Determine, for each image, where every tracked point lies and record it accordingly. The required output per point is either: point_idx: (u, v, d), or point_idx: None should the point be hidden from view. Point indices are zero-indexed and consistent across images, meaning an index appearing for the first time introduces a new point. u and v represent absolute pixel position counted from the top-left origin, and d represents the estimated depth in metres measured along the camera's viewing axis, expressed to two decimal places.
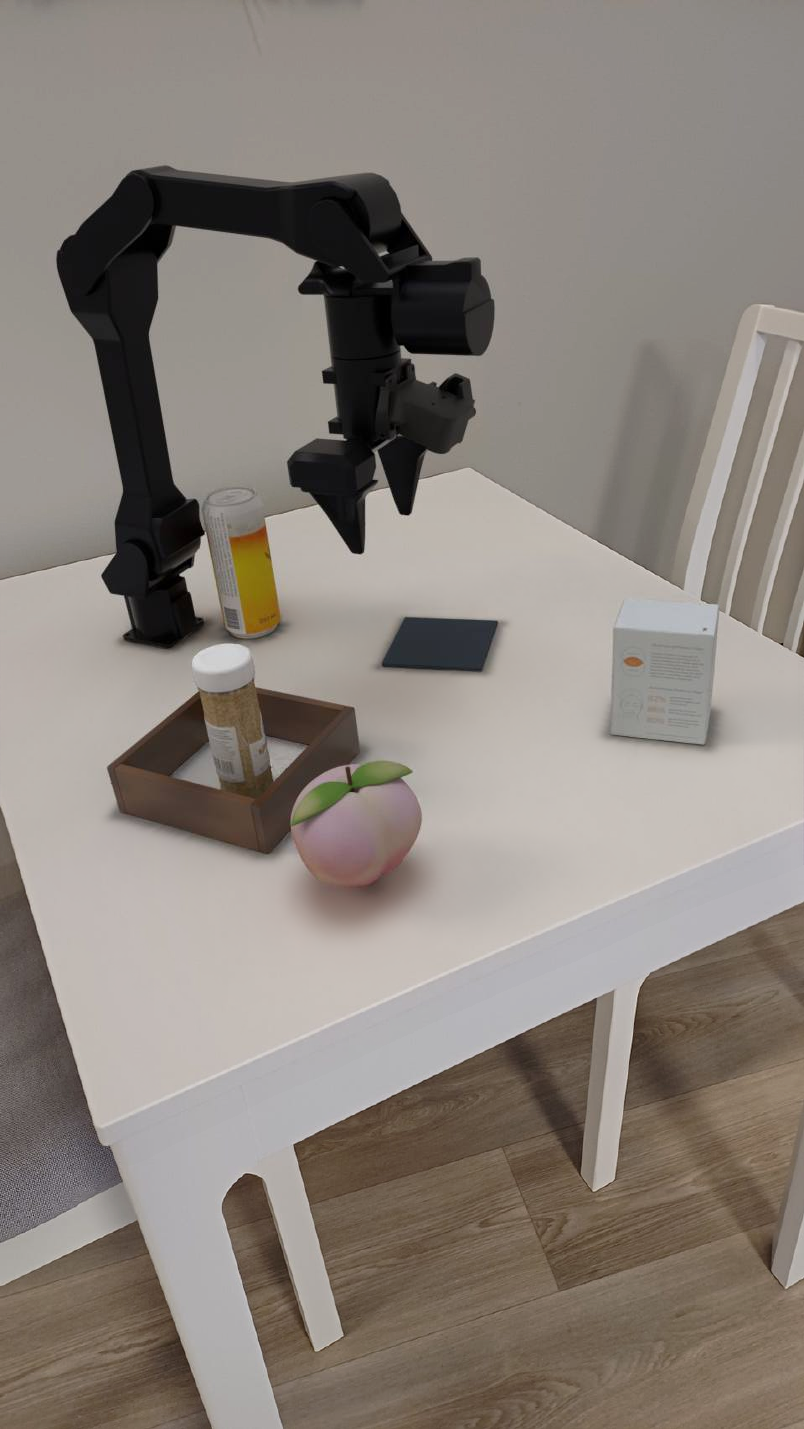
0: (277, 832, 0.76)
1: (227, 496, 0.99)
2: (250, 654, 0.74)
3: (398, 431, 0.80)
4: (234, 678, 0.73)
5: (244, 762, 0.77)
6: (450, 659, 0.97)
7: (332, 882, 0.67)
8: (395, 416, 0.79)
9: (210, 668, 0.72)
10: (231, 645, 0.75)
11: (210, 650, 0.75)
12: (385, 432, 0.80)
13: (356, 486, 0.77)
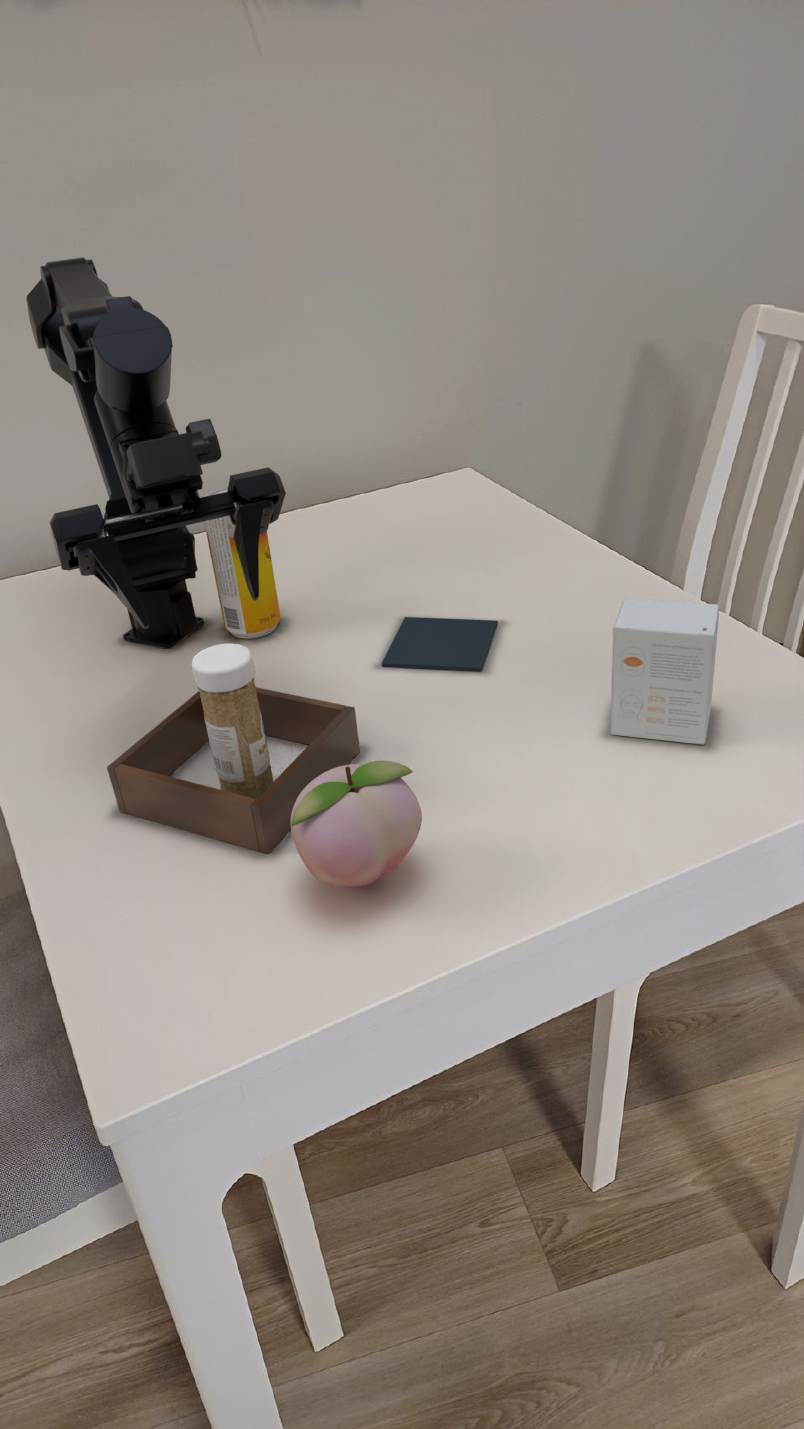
0: (277, 832, 0.76)
1: None
2: (250, 654, 0.74)
3: (136, 487, 0.78)
4: (234, 678, 0.73)
5: (244, 762, 0.77)
6: (450, 659, 0.97)
7: (332, 882, 0.67)
8: None
9: (210, 668, 0.72)
10: (231, 645, 0.75)
11: (210, 650, 0.75)
12: (129, 493, 0.78)
13: (63, 536, 0.76)
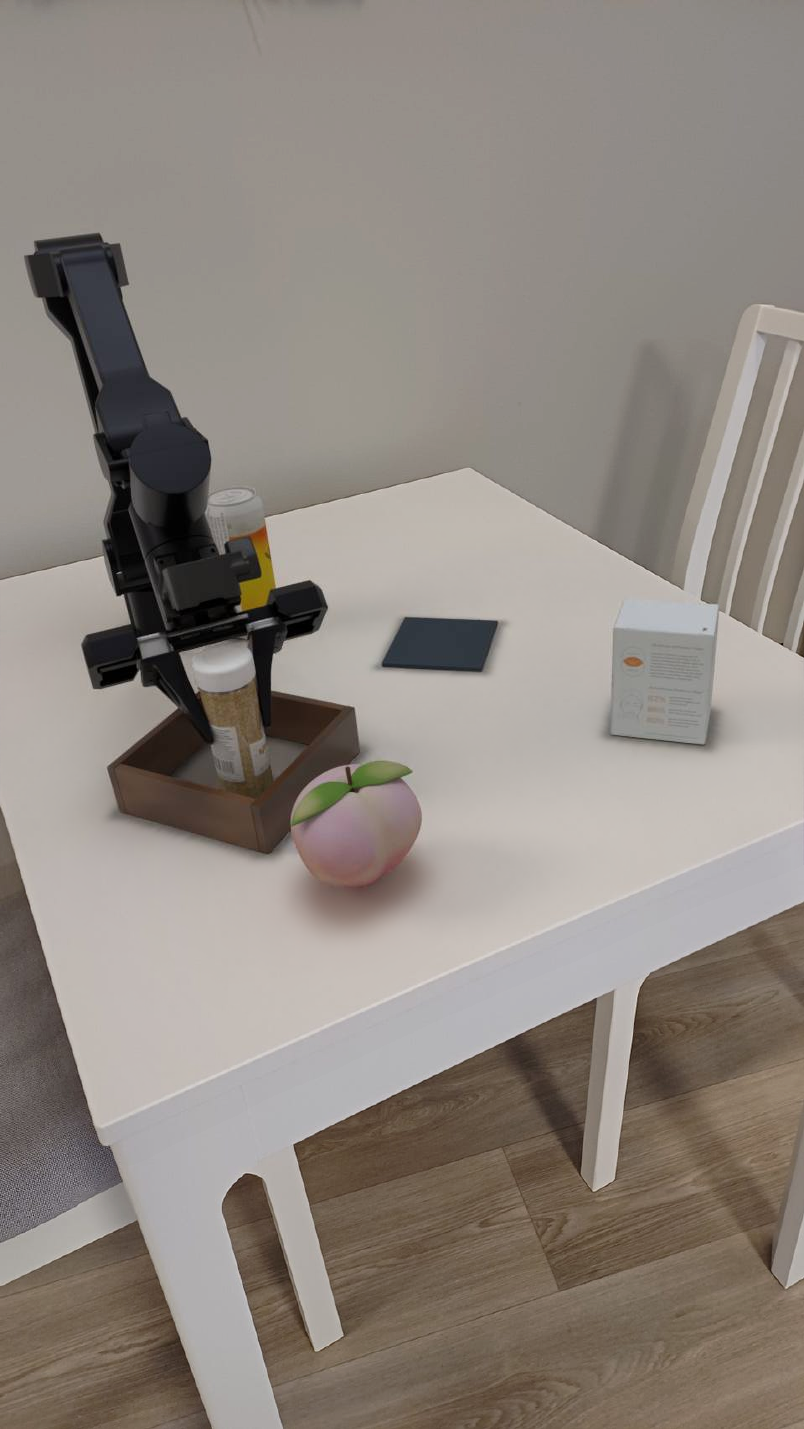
0: (277, 832, 0.76)
1: (227, 496, 0.99)
2: (250, 654, 0.74)
3: None
4: (234, 677, 0.73)
5: (244, 762, 0.77)
6: (450, 659, 0.97)
7: (332, 882, 0.67)
8: None
9: (210, 668, 0.72)
10: (231, 645, 0.75)
11: (210, 650, 0.75)
12: (164, 612, 0.75)
13: (95, 660, 0.72)
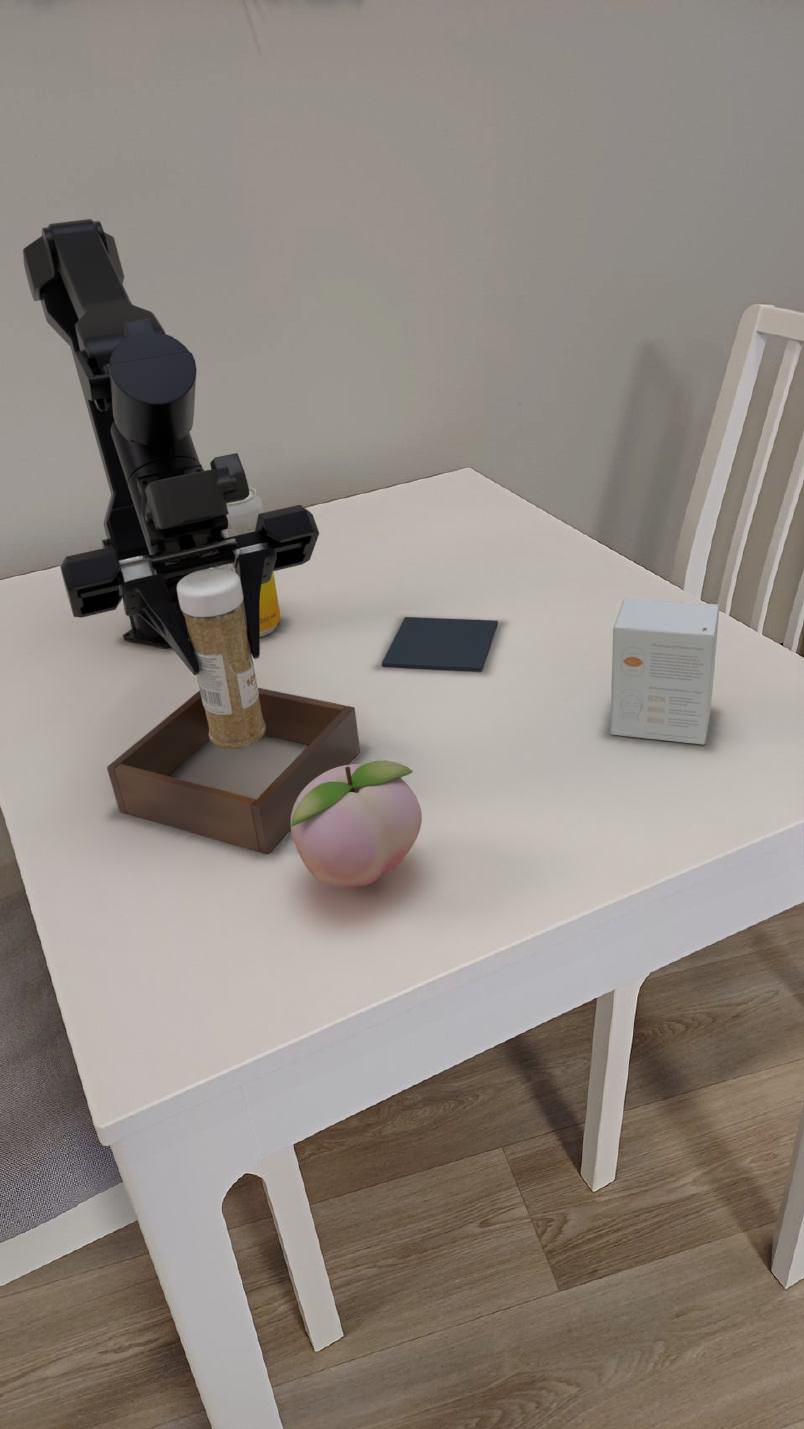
0: (277, 832, 0.76)
1: None
2: (238, 578, 0.71)
3: None
4: (221, 601, 0.69)
5: (232, 693, 0.73)
6: (450, 659, 0.97)
7: (332, 882, 0.67)
8: None
9: (196, 590, 0.69)
10: (218, 570, 0.72)
11: (196, 574, 0.72)
12: (147, 534, 0.71)
13: (74, 582, 0.69)
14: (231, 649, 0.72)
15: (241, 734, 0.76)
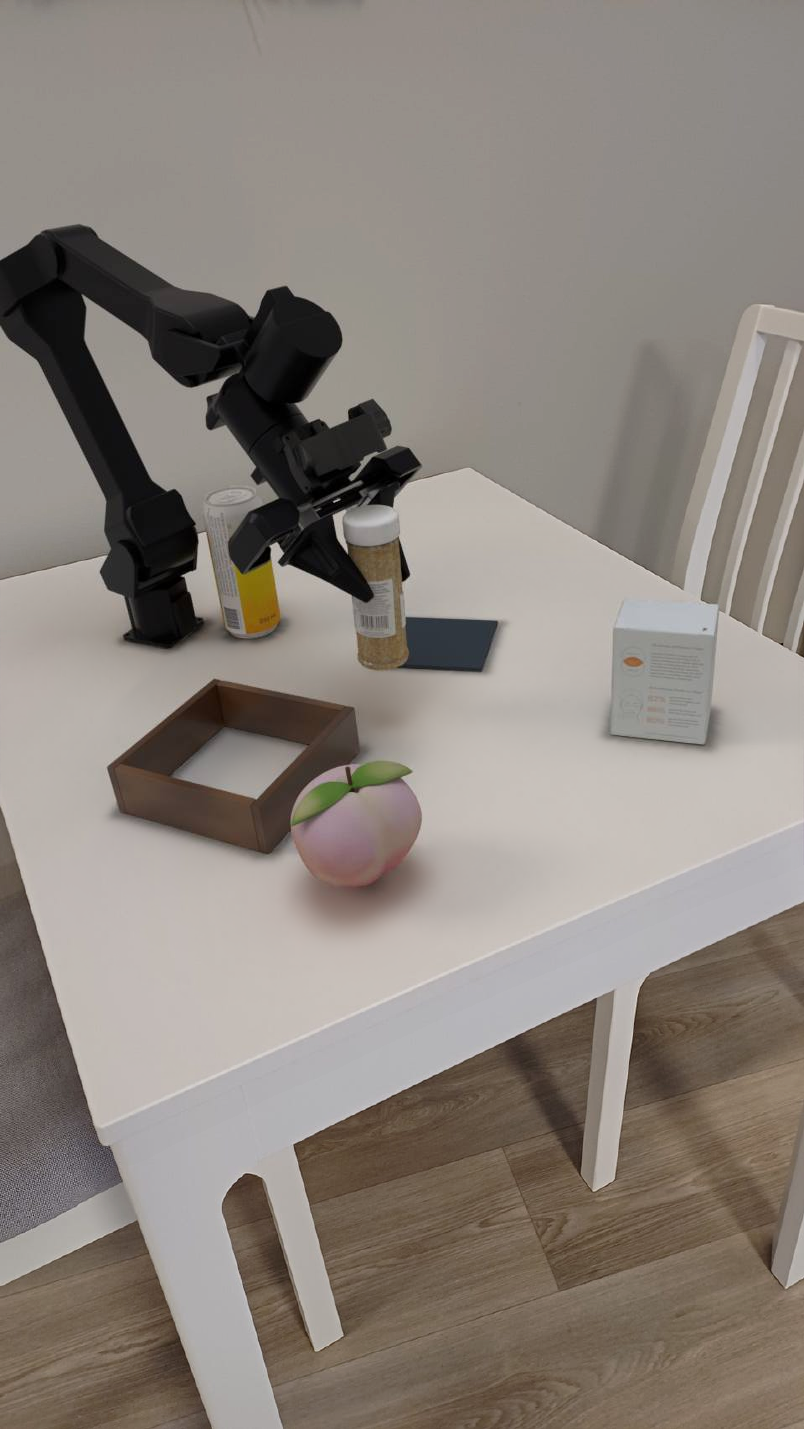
0: (277, 832, 0.76)
1: (227, 496, 0.99)
2: (393, 508, 0.80)
3: (316, 475, 0.78)
4: (394, 527, 0.78)
5: (396, 614, 0.82)
6: (450, 659, 0.97)
7: (332, 882, 0.67)
8: (303, 462, 0.77)
9: (373, 521, 0.78)
10: (367, 506, 0.80)
11: (353, 512, 0.80)
12: (306, 483, 0.78)
13: (272, 531, 0.74)
14: (397, 572, 0.81)
15: (400, 653, 0.84)
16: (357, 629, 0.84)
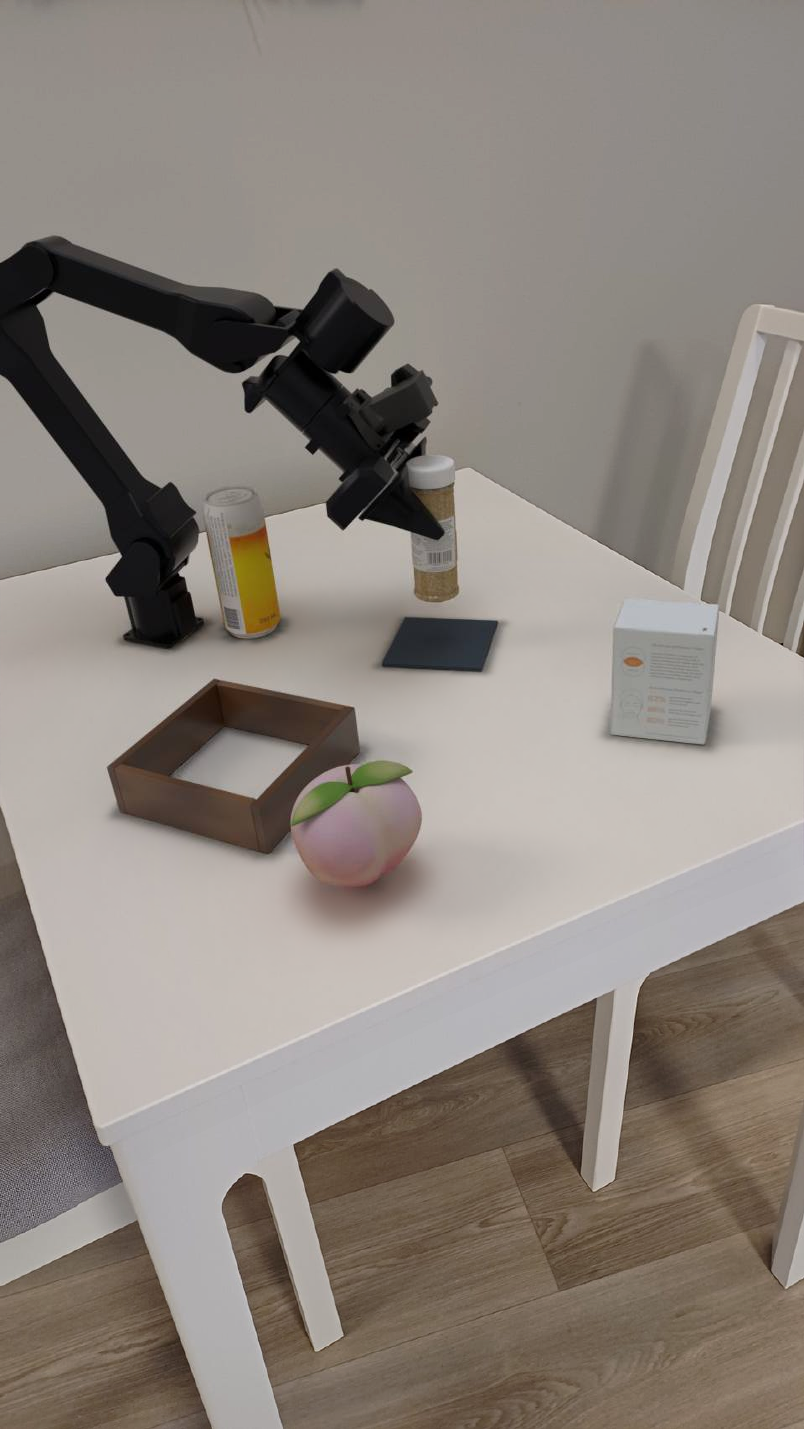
0: (277, 832, 0.76)
1: (227, 496, 0.99)
2: None
3: (387, 432, 0.88)
4: (454, 469, 0.91)
5: (455, 547, 0.94)
6: (450, 659, 0.97)
7: (332, 882, 0.67)
8: (375, 423, 0.87)
9: (441, 465, 0.89)
10: (418, 457, 0.92)
11: (414, 463, 0.91)
12: (378, 441, 0.88)
13: (384, 481, 0.83)
14: (454, 510, 0.93)
15: (456, 583, 0.97)
16: (422, 568, 0.94)
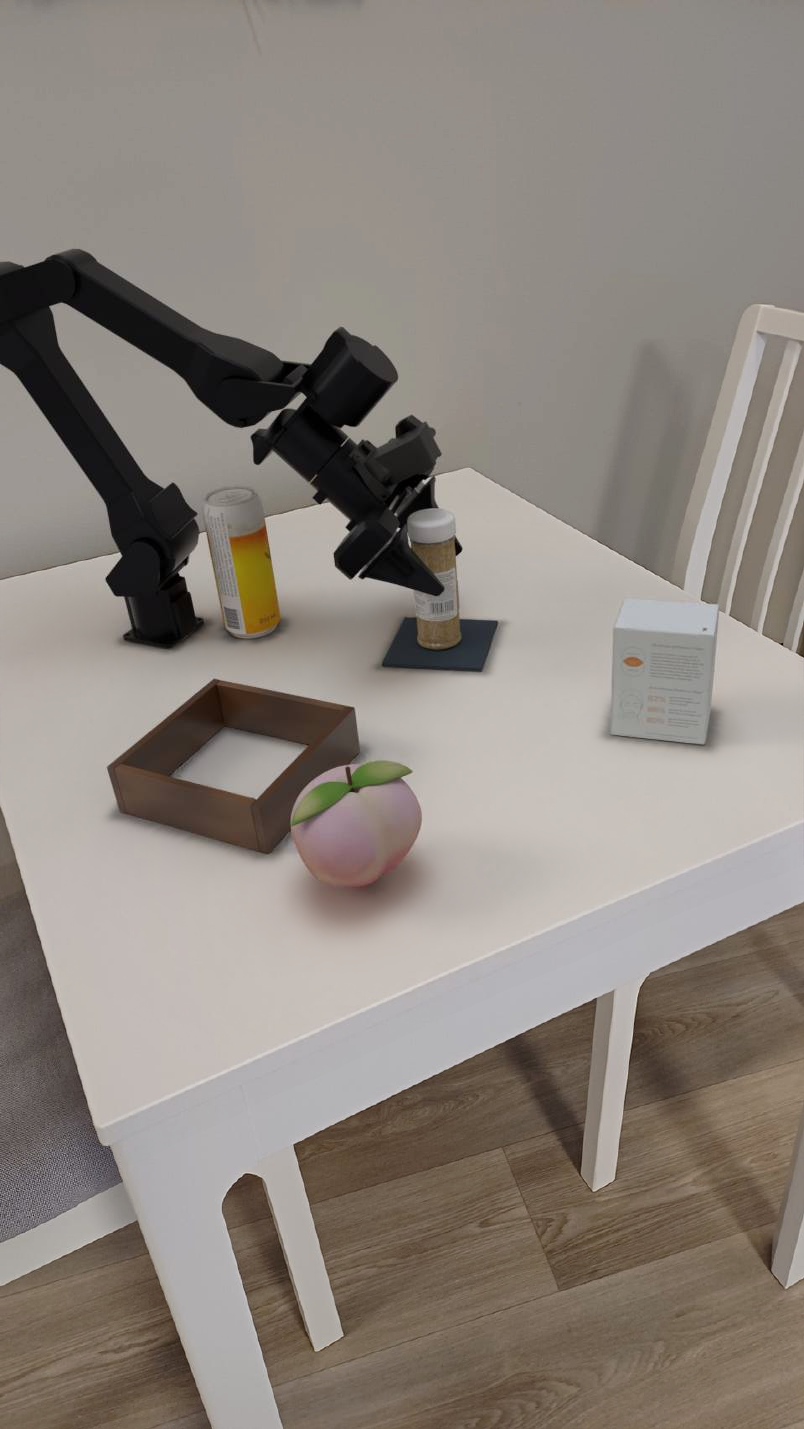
0: (277, 832, 0.76)
1: (227, 496, 0.99)
2: (441, 509, 0.95)
3: (392, 483, 0.90)
4: (455, 523, 0.94)
5: (457, 597, 0.97)
6: (450, 659, 0.97)
7: (332, 882, 0.67)
8: (380, 474, 0.90)
9: (442, 520, 0.92)
10: (420, 511, 0.95)
11: (416, 517, 0.93)
12: (383, 492, 0.90)
13: (390, 533, 0.86)
14: (455, 561, 0.96)
15: (458, 630, 0.99)
16: (425, 617, 0.97)
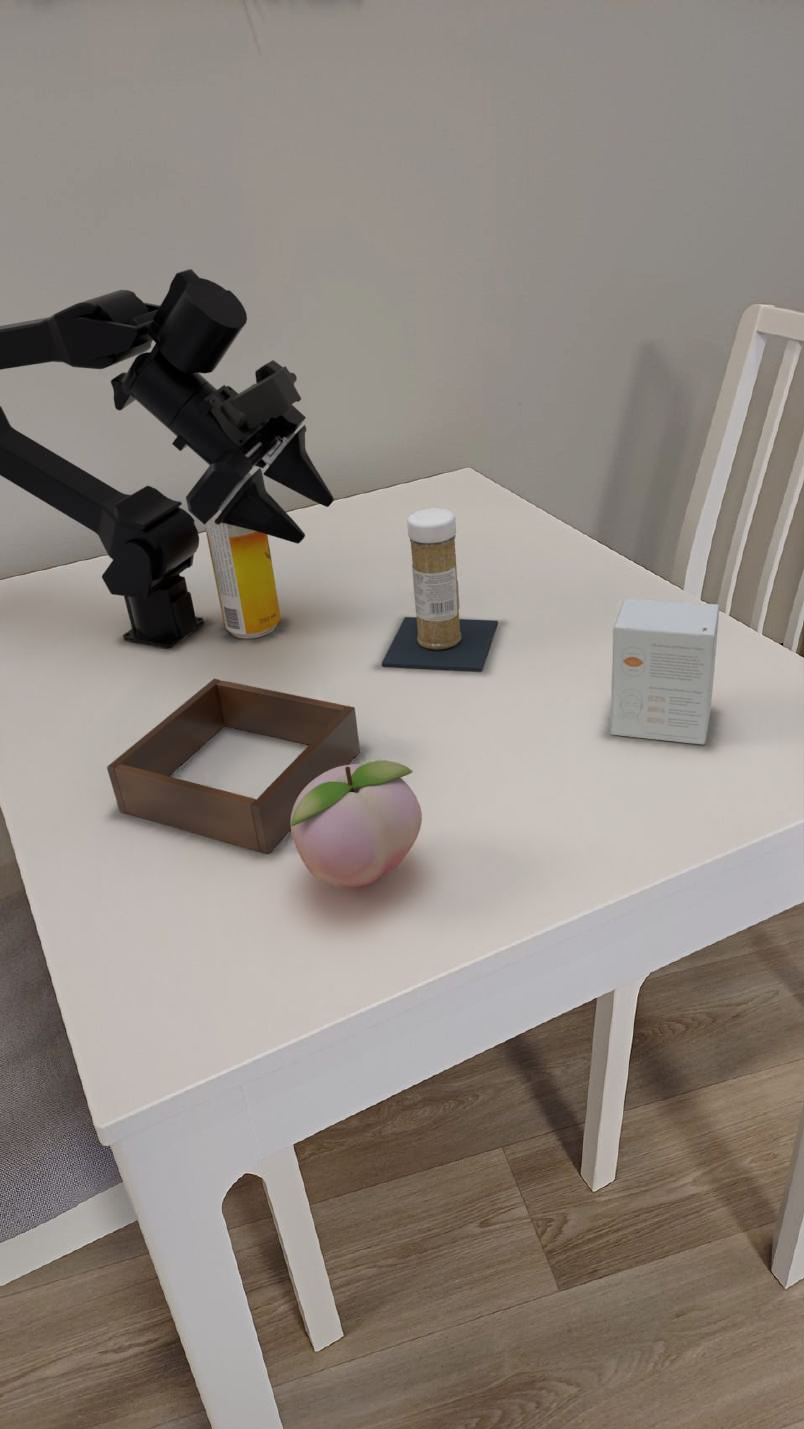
0: (277, 832, 0.76)
1: None
2: (441, 509, 0.95)
3: (248, 428, 0.89)
4: (455, 523, 0.94)
5: (457, 597, 0.97)
6: (450, 659, 0.97)
7: (332, 882, 0.67)
8: (235, 418, 0.89)
9: (442, 520, 0.92)
10: (420, 511, 0.95)
11: (416, 517, 0.93)
12: (240, 436, 0.89)
13: (239, 475, 0.85)
14: (455, 561, 0.96)
15: (458, 630, 0.99)
16: (425, 617, 0.97)
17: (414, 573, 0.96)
